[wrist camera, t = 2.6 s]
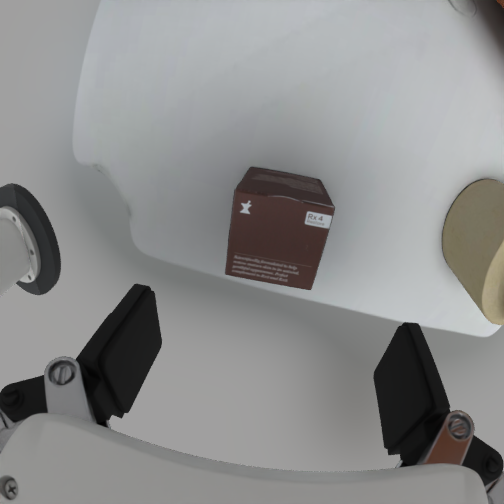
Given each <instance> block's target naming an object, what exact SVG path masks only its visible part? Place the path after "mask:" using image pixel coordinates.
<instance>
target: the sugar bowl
mask: <svg viewBox="0 0 504 504" xmlns="http://www.w3.org/2000/svg"><path fill="white" fill-rule="evenodd" d="M442 248H443V253H444V257H445V260H446V262H447V264H448V266H449V267H450V269H451V270H452V271H453V273H454V274H455V275H456V277H457V278H458V279H459V281H460V282H461V284H462V285H463V286H464V288H465V289H466V291H467V292H468V294H469V295H470V297H471V298H472V299H473V301H474V302H475V303H476V305H477V306H478V307H479V309H480V310H481V312H482V313H483V314H484V316H485V317H486V318H487V319H488V320H489V321H490V322H491V323H493V324H498V325H504V184H503V183H501V182H498V181H496V180H491V179H485V180H480V181H477V182H475V183H473V184H471V185H470V186H468V187H467V188H466V189H465V190H464V191H462V193H461V194H460V195H459V196H458V197H457V199H456V200H455V201H454V203H453V205H452V206H451V208H450V211H449V213H448V215H447V218H446V221H445V225H444V229H443V236H442Z"/></svg>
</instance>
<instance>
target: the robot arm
mask: <svg viewBox="0 0 504 504" xmlns="http://www.w3.org/2000/svg"><path fill="white" fill-rule="evenodd" d="M40 269H41V259H40V252H39V248H38V245H37V242H36V239H35V237H34V234H33V232H32V230H31V228H30V226H29V225H28V223H27V222H26V220H25V219H24V218H23V216H22V215H21V214H20V213H19V212H18V211H17V210H15V209H14V208H12V207H9V206H3V207H1V208H0V297H1V296H2V295H3V294H4V293H5V292H6V291H7V290H8V289H10V288H11V287H12V286H13V285H14V284H15V283H16V282H17V281H19V280H20V281H22V282H25V283H30V282H32V281H34V280H35V279H36V278H37V277H38V275H39V273H40ZM161 345H162V338H161V332H160V326H159V320H158V313H157V307H156V299H155V293H154V291H151V288H150V287H149V286H145V285H140V284H134V286H133V287H132V288H131V289H130V290H129V292H128V293H127V294H126V296H125V297H124V298H123V299H122V300H121V302H120V303H119V304H118V305H117V307H116V308H115V309H114V311H113V312H112V313H110V314H109V315H108V317H107V318H106V319H105V320H104V322H103V323H102V324H101V326H100V327H99V328H98V330H97V331H96V332H95V334H94V335H93V336H92V338H91V339H90V341H89V342H88V343H87V344H86V346H85V347H84V349H83V350H82V351H81V353H80V354H79V355H78V357H77V358H76V360H75V359H73V358H71V357H66V356H65V357H58V358H56V359H54V360H52V361H51V362H50V363H49V364H48V365H47V367H46V369H45V372H44V375H42V376H39V377H35V378H32V379H28V380H24V381H20V382H17V383H12V384H9V385H7V386H6V387H4V388H3V389H2V391H1V392H0V504H504V472H503V471H502V470H503V459H502V457H501V455H500V454H499V453H498V452H497V451H496V450H495V449H493V448H492V447H490V446H489V445H487V444H486V443H484V442H483V441H482V440H480V439H479V438H477V437H476V436H474V430H475V429H474V423H473V421H472V419H471V417H470V416H469V415H468V414H467V413H465V412H463V411H460V410H455V411H452V412H450V409H449V408H450V405H449V401H448V399H447V395H446V393H445V389H444V387H443V384H442V381H441V378H440V375H439V373H438V370H437V367H436V365H435V362H434V359H433V357H432V355H431V352H430V349H429V347H428V344H427V342H426V340H425V337H424V335H423V333H422V331H421V328H420V326H419V324H418V323H408V322H405V323H403V324H402V326H399V327H398V329H397V330H396V332H395V334H394V336H393V338H392V340H391V342H390V344H389V346H388V348H387V350H386V352H385V353H384V355H383V357H382V359H381V360H380V362H379V364H378V366H377V368H376V369H375V371H374V383H375V388H376V395H377V400H378V407H379V413H380V419H381V426H382V434H383V441H384V447H385V448H386V449H388V455H395V454H400V458H401V460H400V461H399V463H398V464H397V466H396V467H395V468H391V469H380V470H367V471H348V472H312V471H292V470H279V469H269V468H260V467H252V466H245V465H238V464H233V463H227V462H222V461H217V460H212V459H207V458H202V457H198V456H193V455H190V454H186V453H182V452H178V451H175V450H171V449H167V448H164V447H161V446H158V445H154V444H151V443H148V442H145V441H142V440H139V439H136V438H133V437H130V436H127V435H125V434H122V433H119V432H117V431H114V430H111V427H110V424H109V421H108V420H109V419H110V417H111V415H114V416H117V417H119V418H122V417H123V415H124V413H128V412H129V411H130V409H131V407H132V405H133V403H134V401H135V398H136V397H137V394H138V392H139V391H140V388H141V386H142V384H143V382H144V380H145V378H146V376H147V374H148V372H149V370H150V368H151V366H152V364H153V362H154V360H155V358H156V356H157V354H158V352H159V350H160V348H161Z"/></svg>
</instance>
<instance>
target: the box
mask: <svg viewBox="0 0 504 504" xmlns="http://www.w3.org/2000/svg"><path fill="white" fill-rule="evenodd" d="M334 211H335V206H334V205H333V204H332V201H331V199H330V197H329V195H328V193H327V191H326V189H325V188H324V185H323V184H322V182H321V180H319V179H314V178H309V177H304V176H300V175H295V174H289V173H284V172H279V171H273V170H267V169H261V168H255V167H250V168H249V170H248V171H247V173H246V174H245V176H244V177H243V179H242V181H241V182H240V183H239V184H238V186H237V188H236V189H235V191H234V197H233V207H232V216H231V224H230V230H229V239H228V250H227V261H226V269H225V274H226V275H230V276H235V277H241V278H246V279H251V280H257V281H262V282H267V283H272V284H278V285H284V286H289V287H295V288H300V289H306V290H311V289H312V286H313V283H314V280H315V277H316V273H317V270H318V267H319V263H320V260H321V257H322V253H323V250H324V246H325V243H326V239H327V236H328V232H329V229H330V225H331V222H332V218H333V215H334Z"/></svg>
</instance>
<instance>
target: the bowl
mask: <svg viewBox="0 0 504 504" xmlns="http://www.w3.org/2000/svg"><path fill="white" fill-rule="evenodd" d="M497 2H498V3H499V4H500V5H502V7H503V9H504V0H497Z"/></svg>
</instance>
